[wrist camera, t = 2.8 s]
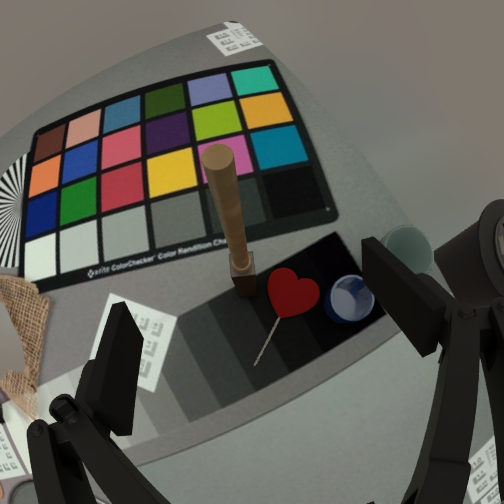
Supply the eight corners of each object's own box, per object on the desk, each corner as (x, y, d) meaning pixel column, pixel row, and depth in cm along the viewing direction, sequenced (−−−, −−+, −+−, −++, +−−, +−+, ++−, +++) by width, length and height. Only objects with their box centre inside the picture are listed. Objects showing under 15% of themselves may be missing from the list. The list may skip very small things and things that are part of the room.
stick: (250, 254, 34) (235, 137, 15) (252, 272, 34) (239, 170, 14) (231, 256, 34) (196, 143, 15) (233, 274, 34) (197, 176, 14)
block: (255, 278, 48) (252, 251, 34) (257, 295, 47) (255, 274, 33) (238, 280, 48) (228, 253, 34) (239, 297, 47) (231, 277, 33)
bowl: (359, 279, 47) (370, 271, 42) (366, 320, 45) (377, 316, 40) (320, 284, 47) (327, 277, 42) (326, 327, 45) (334, 324, 40)
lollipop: (279, 377, 43) (324, 286, 47) (280, 377, 42) (325, 285, 46) (229, 352, 44) (276, 263, 48) (229, 352, 43) (276, 262, 47)
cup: (373, 301, 46) (398, 289, 36) (354, 255, 48) (375, 233, 39) (412, 284, 46) (442, 268, 37) (394, 241, 49) (419, 217, 39)
